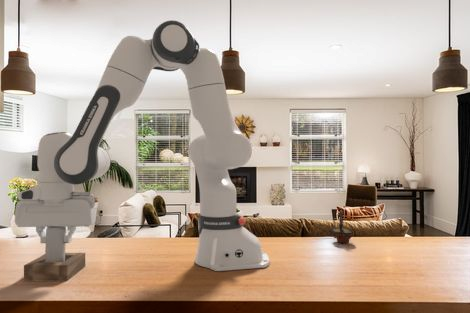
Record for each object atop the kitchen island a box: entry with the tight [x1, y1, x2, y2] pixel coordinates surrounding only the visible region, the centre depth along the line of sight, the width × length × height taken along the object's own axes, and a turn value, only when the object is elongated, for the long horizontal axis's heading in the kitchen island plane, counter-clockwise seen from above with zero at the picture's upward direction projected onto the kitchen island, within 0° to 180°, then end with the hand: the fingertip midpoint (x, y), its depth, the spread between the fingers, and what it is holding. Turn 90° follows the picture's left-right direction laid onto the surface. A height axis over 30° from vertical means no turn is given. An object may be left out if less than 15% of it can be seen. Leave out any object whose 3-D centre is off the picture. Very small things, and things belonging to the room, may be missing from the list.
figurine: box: [329, 209, 354, 244], centre depth 123 cm, size 10×8×12 cm
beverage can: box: [44, 227, 67, 263], centre depth 91 cm, size 5×5×12 cm
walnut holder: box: [23, 252, 86, 282], centre depth 91 cm, size 11×11×4 cm
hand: (56, 242), depth 91 cm, fingers closed on beverage can, 5 cm apart
